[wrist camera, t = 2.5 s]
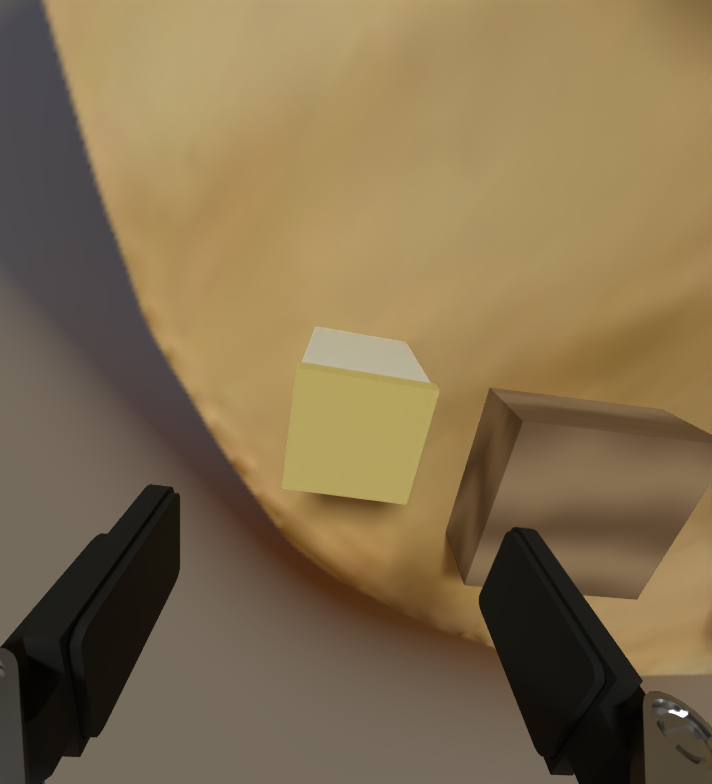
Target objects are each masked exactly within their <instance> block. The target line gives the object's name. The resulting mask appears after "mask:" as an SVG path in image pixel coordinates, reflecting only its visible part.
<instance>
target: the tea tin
mask: <svg viewBox="0 0 712 784" xmlns="http://www.w3.org/2000/svg"><path fill="white" fill-rule="evenodd" d="M439 392H440V391H439V389H438V387H437V386H436V384H434V383H430V381H429V379H428V378H427V376H426V374H425V373H424V371H423V370H422V368H421V366H420V365H419V363H418V361H417V360H416V358H415V356H414V355H413V353H412V351H411V350H410V348H409V346H408V345H407V343H406V342H403V341H397V340H391V339H385V338H379V337H374V336H368V335H362V334H356V333H351V332H345V331H339V330H333V329H328V328H322V327H315V329H314V332H313V334H312V337H311V340H310V342H309V345H308V347H307V350H306V353H305V355H304V358H303V360H302V362H298V365H297V367H296V374H295V382H294V390H293V398H292V406H291V414H290V423H289V431H288V439H287V447H286V455H285V463H284V471H283V480H282V489H290V490H297V491H305V492H313V493H320V494H328V495H336V496H343V497H351V498H359V499H366V500H374V501H381V502H389V503H397V504H404V505H407V502H408V498H409V495H410V491H411V488H412V484H413V481H414V478H415V474H416V471H417V467H418V464H419V460H420V457H421V454H422V450H423V447H424V443H425V440H426V436H427V433H428V430H429V426H430V423H431V419H432V416H433V413H434V409H435V406H436V402H437V399H438V395H439Z"/></svg>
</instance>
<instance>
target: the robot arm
mask: <svg viewBox="0 0 712 784" xmlns="http://www.w3.org/2000/svg"><path fill="white" fill-rule="evenodd" d="M179 570H180V495H179V494H178V493H174V490H173V487H168V486H160V485H152V484H150V485H148V486H147V487H146V488H145V489H144V490H143V491H142V493H141V494H140V495H139V496H138V497H137V499H136V500H135V501H134V502H133V503H132V505H131V506H130V507H129V508H128V510H127V511H126V512H125V513H124V515H123V516H122V517H121V518H120V519H119V521H118V522H117V523H116V524H115V526H114V527H113V528H112V529H111V530H110V532H109V533H108V534H99V535H97V536H96V537H95V538H94V539H93V540H92V541H91V542H90V543H89V544H88V545H87V546H86V548H85V549H84V550H83V551H82V552H81V554H80V555H79V556H78V557H77V558H76V559H75V561H74V562H73V563H72V564H71V565H70V566H69V568H68V569H67V570H66V571H65V572H64V574H63V575H62V576H61V577H60V578H59V579H58V580H57V582H56V583H55V584H54V585H53V586H52V587H51V589H50V590H49V591H48V592H47V593H46V594H45V596H44V597H43V598H42V599H41V600H40V602H39V603H38V604H37V605H36V606H35V607H34V608H33V610H32V611H31V612H30V613H29V614H28V616H27V617H26V618H25V619H24V620H23V621H22V623H21V624H20V625H19V626H18V627H17V628H16V630H15V631H14V632H13V633H12V634H11V635H10V637H9V638H8V639H7V640H6V641H5V643H4V644H3V645H2V646H1V647H0V784H45V780H46V779H47V778H48V777H50V776H51V775H52V774H53V772H54V770H55V768H56V766H57V765H58V763H59V761H60V759H61V757H62V756H67V757H68V756H69V757H80V756H81V754H82V752H83V750H84V748H85V746H86V744H87V743H88V740H89V739H90V737H97V736H98V735H99V734H100V733H101V731H102V730H103V728H104V726H105V724H106V722H107V720H108V718H109V716H110V714H111V712H112V710H113V708H114V706H115V704H116V702H117V700H118V698H119V696H120V694H121V692H122V690H123V688H124V686H125V684H126V682H127V680H128V678H129V676H130V674H131V672H132V669H133V668H134V665H135V664H136V662H137V660H138V657H139V656H140V654H141V652H142V650H143V647H144V645H145V643H146V641H147V639H148V637H149V635H150V633H151V631H152V629H153V627H154V625H155V623H156V621H157V619H158V617H159V615H160V613H161V611H162V609H163V607H164V605H165V603H166V600H167V599H168V597H169V594H170V592H171V591H172V589H173V587H174V585H175V583H176V580H177V578H178V574H179ZM479 606H480V610H481V612H482V615H483V617H484V620H485V622H486V625H487V628H488V630H489V633H490V635H491V638H492V640H493V643H494V645H495V648H496V650H497V653H498V655H499V658H500V660H501V663H502V665H503V668H504V671H505V673H506V676H507V678H508V681H509V683H510V686H511V688H512V691H513V693H514V696H515V699H516V701H517V704H518V706H519V709H520V711H521V714H522V716H523V719H524V721H525V724H526V727H527V729H528V732H529V734H530V737H531V739H532V742H533V744H534V747H535V749H536V751H537V752H538V754H540V755H541V756H543V757H544V759H545V762H546V764H547V767H548V769H549V772H550V774H551V775H573V774H575V776H576V778H577V781H578V783H579V784H712V727H711V726H710V725H709V724H708V723H707V722H706V721H705V720H704V719H703V718H702V717H701V716H700V715H699V714H698V713H697V712H695V711H694V710H693V709H692V708H690V707H689V706H688V705H686V704H685V703H684V702H682V701H681V700H679V699H677V698H675V697H673V696H671V695H669V694H666V693H663V692H659V691H650V692H649V693H647V694H645V693H644V691H643V690H642V688H641V687H640V684H641V683H642V681H643V680H642V679H641V678H640V676H639V675H638V673H637V672H636V670H635V669H634V668H633V666H632V665H631V663H630V662H629V661H628V659H627V658H626V656H625V655H624V653H623V652H622V651H621V649H620V648H619V646H618V645H617V644H616V642H615V641H614V639H613V638H612V636H611V635H610V634H609V632H608V631H607V629H606V628H605V627H604V625H603V624H602V622H601V621H600V619H599V618H598V617H597V615H596V614H595V612H594V611H593V610H592V608H591V607H590V605H589V604H588V602H587V601H586V600H585V598H584V597H583V595H582V594H581V593H580V591H579V590H578V588H577V587H576V585H575V584H574V583H573V581H572V580H571V578H570V577H569V576H568V574H567V573H566V571H565V570H564V568H563V567H562V566H561V564H560V563H559V561H558V560H557V559H556V557H555V556H554V554H553V553H552V551H551V550H550V549H549V547H548V546H547V544H546V543H545V542H544V540H543V539H542V537H541V536H540V534H539V533H538V532H537V531H536V530H534V529H530V528H522V527H513V528H512V529H511V531H508V532H506V534H505V536H504V538H503V541H502V543H501V545H500V548H499V550H498V552H497V555H496V557H495V559H494V562H493V564H492V567H491V569H490V571H489V574H488V576H487V578H486V581H485V583H484V585H483V588H482V590H481V593H480V595H479Z"/></svg>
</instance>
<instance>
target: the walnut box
mask: <svg viewBox="0 0 712 784" xmlns="http://www.w3.org/2000/svg"><path fill="white" fill-rule="evenodd" d="M711 481H712V435H711V434H709V433H707V432H705V431H703V430H701V429H699V428H697V427H695V426H693V425H691V424H690V423H688V422H686V421H684V420H682V419H680V418H678V417H676V416H674V415H672V414H670V413H668V412H667V411H665V410H662V409H654V408H646V407H638V406H630V405H622V404H615V403H607V402H599V401H591V400H583V399H575V398H567V397H559V396H551V395H543V394H535V393H528V392H520V391H512V390H504V389H496V388H490V389H489V392H488V395H487V399H486V402H485V405H484V408H483V412H482V415H481V418H480V422H479V425H478V428H477V431H476V435H475V438H474V441H473V444H472V448H471V451H470V454H469V457H468V461H467V464H466V467H465V471H464V474H463V477H462V480H461V484H460V487H459V490H458V493H457V497H456V500H455V503H454V506H453V510H452V513H451V516H450V519H449V523H448V526H447V529H446V533H447V536H448V539H449V542H450V545H451V548H452V551H453V554H454V557H455V560H456V563H457V565H458V568H459V571H460V574H461V577H462V580H463V583H464V585H468V586H480V587H483V585H484V583H485V581H486V578H487V576H488V574H489V571H490V569H491V567H492V564H493V562H494V559H495V557H496V555H497V552H498V550H499V548H500V545H501V543H502V541H503V538H504V536H505V534H506V532H508V531H511V529H512V528H513V527H522V528H530V529H534V530H536V531H537V532H538V533H539V534H540V536H541V537H542V539H543V540H544V542H545V543H546V544H547V546H548V547H549V549H550V550H551V551H552V553H553V554H554V556H555V557H556V559H557V560H558V561H559V563H560V564H561V566H562V567H563V568H564V570H565V571H566V573H567V574H568V576H569V577H570V578H571V580H572V581H573V583H574V584H575V585H576V587H577V588H578V590H579V591H580V593H581V594H582V595H588V596H600V597H612V598H624V599H636V600H637V599H638V597H639V595H640V594H641V592H642V591H643V589H644V587H645V586H646V584H647V583H648V581H649V580H650V578H651V576H652V575H653V573H654V572H655V570H656V568H657V567H658V565H659V564H660V562H661V561H662V559H663V557H664V556H665V554H666V553H667V551H668V549H669V548H670V546H671V545H672V543H673V542H674V540H675V538H676V537H677V535H678V534H679V532H680V530H681V529H682V527H683V526H684V524H685V523H686V521H687V519H688V518H689V516H690V515H691V513H692V511H693V510H694V508H695V507H696V505H697V504H698V502H699V500H700V499H701V497H702V496H703V494H704V492H705V491H706V489H707V488H708V486H709V484H710V483H711Z"/></svg>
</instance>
